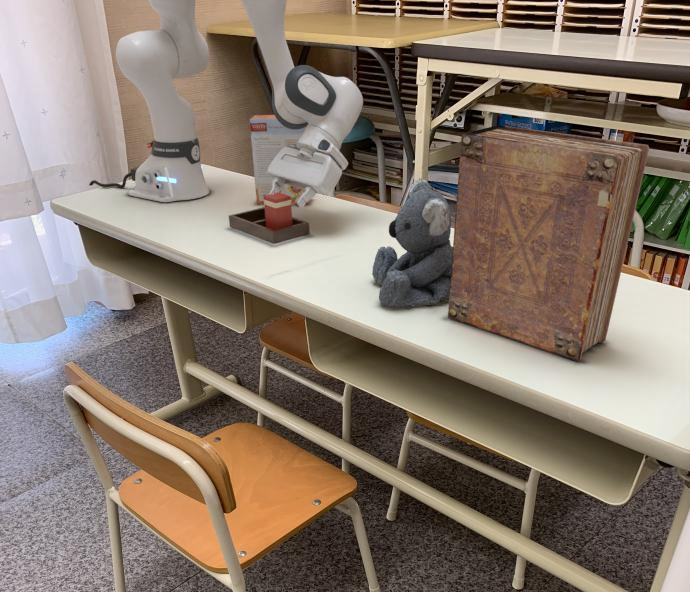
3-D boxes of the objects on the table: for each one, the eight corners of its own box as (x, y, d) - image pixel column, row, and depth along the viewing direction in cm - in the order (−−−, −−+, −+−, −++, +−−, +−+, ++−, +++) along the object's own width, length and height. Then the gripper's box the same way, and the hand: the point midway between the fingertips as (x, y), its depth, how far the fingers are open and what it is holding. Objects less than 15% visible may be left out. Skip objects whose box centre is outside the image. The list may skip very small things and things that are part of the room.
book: (606, 343, 113) (651, 145, 95) (578, 362, 107) (621, 156, 90) (476, 302, 127) (495, 124, 110) (446, 318, 122) (461, 132, 104)
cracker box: (311, 199, 187) (308, 114, 175) (308, 205, 182) (305, 118, 170) (260, 198, 188) (254, 113, 176) (256, 204, 183) (249, 117, 171)
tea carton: (266, 233, 160) (263, 196, 155) (281, 229, 163) (279, 192, 158) (277, 238, 158) (275, 199, 153) (293, 234, 160) (291, 196, 155)
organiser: (229, 229, 166) (228, 215, 164) (264, 220, 171) (263, 207, 169) (274, 246, 155) (273, 231, 153) (309, 236, 160) (309, 222, 159)
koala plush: (369, 277, 138) (370, 174, 127) (458, 274, 139) (466, 171, 128) (381, 312, 124) (383, 199, 113) (479, 307, 125) (491, 195, 114)
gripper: (280, 134, 161) (249, 185, 161) (338, 146, 148) (304, 202, 149) (296, 151, 166) (266, 201, 166) (353, 165, 153) (321, 219, 154)
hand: (285, 201), depth 157 cm, fingers open, 8 cm apart
